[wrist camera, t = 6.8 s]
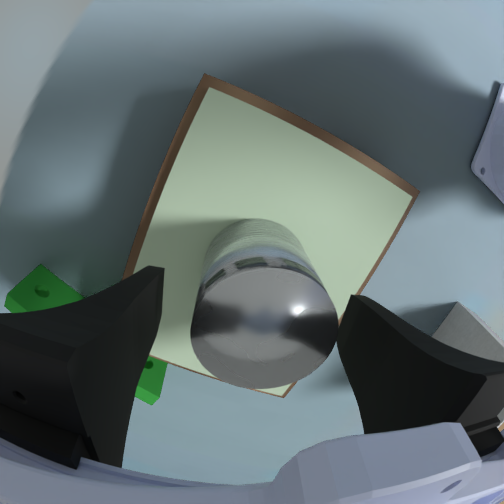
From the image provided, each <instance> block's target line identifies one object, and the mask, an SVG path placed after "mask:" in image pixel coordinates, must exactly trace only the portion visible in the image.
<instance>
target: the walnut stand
mask: <svg viewBox="0 0 504 504" xmlns="http://www.w3.org/2000/svg"><path fill="white" fill-rule="evenodd" d="M419 192H420V191H419V190H418V189H416V188H415V187H414V186H412V185H411V184H409V183H408V182H407V181H405V180H404V179H402V178H401V177H399V176H398V175H396V174H395V173H393V172H392V171H390V170H389V169H387V168H386V167H384V166H383V165H381V164H380V163H378V162H377V161H375V160H374V159H372V158H371V157H369V156H367V155H366V154H364V153H363V152H361V151H359V150H358V149H356V148H354V147H353V146H351V145H349V144H348V143H346V142H344V141H343V140H341V139H339V138H338V137H336V136H334V135H332V134H331V133H329V132H327V131H325V130H324V129H322V128H320V127H318V126H316V125H314V124H313V123H311V122H309V121H307V120H305V119H303V118H301V117H299V116H298V115H296V114H294V113H292V112H290V111H288V110H286V109H284V108H282V107H280V106H278V105H276V104H274V103H272V102H269V101H267V100H265V99H263V98H261V97H259V96H257V95H254V94H252V93H250V92H248V91H246V90H243V89H241V88H239V87H236V86H234V85H232V84H229V83H227V82H225V81H222V80H220V79H217V78H215V77H212V76H210V75H207V74H205V73H204V75H203V77H202V79H201V81H200V83H199V85H198V87H197V89H196V91H195V93H194V95H193V97H192V99H191V101H190V103H189V105H188V107H187V109H186V111H185V114H184V116H183V118H182V120H181V122H180V124H179V127H178V129H177V131H176V133H175V136H174V138H173V140H172V142H171V145H170V147H169V149H168V152H167V154H166V157H165V159H164V161H163V164H162V166H161V169H160V171H159V174H158V176H157V179H156V181H155V184H154V186H153V189H152V192H151V194H150V197H149V200H148V202H147V205H146V208H145V211H144V213H143V216H142V219H141V222H140V225H139V228H138V230H137V233H136V236H135V239H134V242H133V245H132V249H131V252H130V255H129V258H128V261H127V264H126V268H125V271H124V274H123V278H122V280H124V279H126V278H128V277H129V276H131V275H133V274H134V273H136V272H138V271H139V270H141V269H143V268H144V267H146V266H148V265H150V266H156V267H162V268H165V272H164V286H163V303H162V316H161V320H160V324H159V328H158V332H157V336H156V339H155V341H154V344H153V346H152V349H151V351H150V354H149V356H151V357H154V358H156V359H159V360H161V361H164V362H167V363H170V364H172V365H175V366H178V367H181V368H184V369H186V370H189V371H192V372H195V373H198V374H201V375H204V376H207V377H210V378H214V379H217V380H220V379H218V378H217V377H215V376H214V375H212V374H211V373H210V372H209V371H207V370H206V369H205V368H204V367H203V365H202V364H201V363H200V362H199V360H198V359H197V357H196V355H195V353H194V351H193V348H192V345H191V339H190V328H191V323H192V318H193V312H194V307H195V302H196V297H197V292H198V287H199V282H200V278H201V273H202V268H203V263H204V259H205V254H206V251H207V249H208V247H209V245H210V243H211V242H212V240H213V239H214V237H215V236H216V235H217V234H218V233H219V232H220V231H222V230H223V229H224V228H226V227H227V226H229V225H231V224H233V223H235V222H238V221H241V220H245V219H255V218H259V219H267V220H271V221H274V222H277V223H279V224H281V225H283V226H285V227H286V228H288V229H289V230H290V231H291V232H292V233H293V234H294V235H295V236H296V237H297V238H298V240H299V241H300V243H301V245H302V246H303V248H304V250H305V252H306V254H307V256H308V257H309V259H310V261H311V263H312V265H313V267H314V268H315V270H316V272H317V274H318V276H319V278H320V280H321V281H322V283H323V285H324V287H325V289H326V291H327V293H328V295H329V296H330V298H331V300H332V302H333V304H334V306H335V309H336V311H337V315H338V321H339V325H340V323H341V320H342V317H343V315H344V312H345V309H346V307H347V304H348V301H349V298H350V296H351V294H353V295H360V294H361V292H362V290H363V289H364V287H365V286H366V284H367V283H368V281H369V280H370V278H371V276H372V275H373V273H374V272H375V270H376V268H377V267H378V265H379V263H380V262H381V260H382V259H383V257H384V255H385V254H386V252H387V250H388V248H389V247H390V245H391V243H392V242H393V240H394V238H395V236H396V235H397V233H398V231H399V229H400V228H401V226H402V224H403V222H404V220H405V219H406V217H407V215H408V213H409V211H410V209H411V208H412V206H413V204H414V202H415V200H416V198H417V196H418V194H419ZM220 381H222V380H220ZM223 382H224V381H223ZM296 382H297V381H296ZM296 382H294V383H291V384H288V385H285V386H281V387H276V388H270V389H251V390H255V391H258V392H262V393H266V394H270V395H274V396H278V397H282V398H284V397H285V396H286V395H287V394H288V392H289V391H290V390H291V389H292V387H293V386H294V385H295V384H296ZM247 389H250V388H247Z"/></svg>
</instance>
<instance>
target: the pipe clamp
mask: <svg viewBox="0 0 504 504" xmlns="http://www.w3.org/2000/svg"><path fill="white" fill-rule="evenodd" d="M84 298H85V297H83V296H82V295H81V294H79V293H78V292H76V291H75V290H74V289H72V288H71V287H70V286H68V285H67V284H66V283H64V282H63V281H62V280H60V279H59V278H58V277H57V276H55V275H54V274H53V273H52V272H50V271H49V270H48V269H46V268H45V267H44V266H43V265H42V264H40V265H39V266H38V267H37V268H35V269H34V270H33V271H32V272H31V273H30V274H29V275H27V276H26V277H25V278H24V279H23V280H22V281H21V282H20V283H19V284H17V285H16V286H15V287H14V288H13V289H12V290H11V291H10V292H9V293H8V294H7V297H6V301H5V305H4V306H5V307H6V308H7V309H8V310H9V311H10V312H12V313H20V312H30V311H37V310H44V309H49V308H54V307H58V306H61V305H65V304H69V303H72V302H76V301H79V300H82V299H84ZM167 364H168V363H167V362H164V361H161V360H159V359H156V358H154V357H151V356H148V359H147V361H146V364H145V367H144V369H143V372H142V374H141V377H140V379H139V383H138V386H137V389H136V393H135V397H137V398H139V399H140V400H142V401H144V402H146V403H148V404H150V405H153V404H154V403H155V402H156V401H157V400H158V399H159V398H160V394H161V389H162V385H163V380H164V376H165V372H166V368H167Z"/></svg>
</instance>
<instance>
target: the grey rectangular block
mask: <svg viewBox="0 0 504 504" xmlns="http://www.w3.org/2000/svg"><path fill="white" fill-rule="evenodd" d="M432 338H434V339H436V340H438V341H440V342H442V343H444V344H446V345H449V346H451V347H453V348H456V349H458V350H461V351H463V352H466V353H469V354H472V355H475V356H478V357H482V358H485V359H489V360H494V361H499V362H504V341H503V340H502V339H501V338H500V337H499V336H498V335H497V334H496V333H495V332H494V331H493V330H492V329H491V328H490V327H489V326H488V325H487V324H486V323H485V322H484V321H483V320H482V319H481V318H480V317H479V316H478V315H477V314H475V313H474V312H473V311H471V310H470V309H468V308H467V307H465V306H464V305H462V304H461V303H459V302H458V301H457V303H456V304H455V306H454V307H453V309H452V310H451V311H450V313H449V314H448V316H447V317H446V318H445V320H444V321H443V322H442V324H441V325H440V326H439V328H438V329H437V330H436V332H435V333H434V334H433V335H432ZM497 417H498V418H499V420H500V424H499V426H497V428H499V427H500V425H501V424H502V423H503V422H504V408H503V409H502V411H501V412H500V413H499V414H498V416H497Z"/></svg>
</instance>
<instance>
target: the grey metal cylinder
mask: <svg viewBox="0 0 504 504" xmlns="http://www.w3.org/2000/svg"><path fill="white" fill-rule="evenodd" d="M338 330H339V321H338V315H337V311H336V309H335V306H334V304H333V302H332V300H331V298H330V296H329V295H328V293H327V291H326V289H325V287H324V285H323V283H322V281H321V280H320V278H319V276H318V274H317V272H316V270H315V268H314V267H313V265H312V263H311V261H310V259H309V257H308V256H307V254H306V252H305V250H304V248H303V246H302V245H301V243H300V241H299V240H298V238H297V237H296V236H295V235H294V234H293V233H292V232H291V231H290V230H289V229H288V228H286V227H285V226H283V225H281V224H279V223H277V222H274V221H271V220H267V219H259V218H255V219H245V220H241V221H238V222H235V223H233V224H231V225H229V226H227V227H226V228H224V229H223V230H222V231H220V232H219V233H218V234H217V235H216V236H215V237H214V239H213V240H212V242H211V243H210V245H209V247H208V249H207V251H206V254H205V259H204V263H203V268H202V273H201V278H200V282H199V287H198V292H197V297H196V302H195V307H194V312H193V318H192V323H191V328H190V339H191V345H192V348H193V351H194V353H195V355H196V357H197V359H198V360H199V362H200V363H201V364H202V365H203V367H204V368H205V369H206V370H207V371H209V372H210V373H211V374H212V375H214V376H215V377H217V378H218V379H220V380H222V381H224V382H226V383H229V384H232V385H235V386H239V387H243V388H250V389H270V388H276V387H281V386H285V385H288V384H291V383H294V382H296V381H298V380H300V379H302V378H304V377H306V376H307V375H309V374H311V373H312V372H313V371H315V370H316V369H317V368H318V367H319V366H320V365H321V364H322V363H323V362H324V361H325V360H326V359H327V357H328V356H329V354H330V353H331V351H332V349H333V347H334V345H335V343H336V340H337V336H338Z"/></svg>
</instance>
